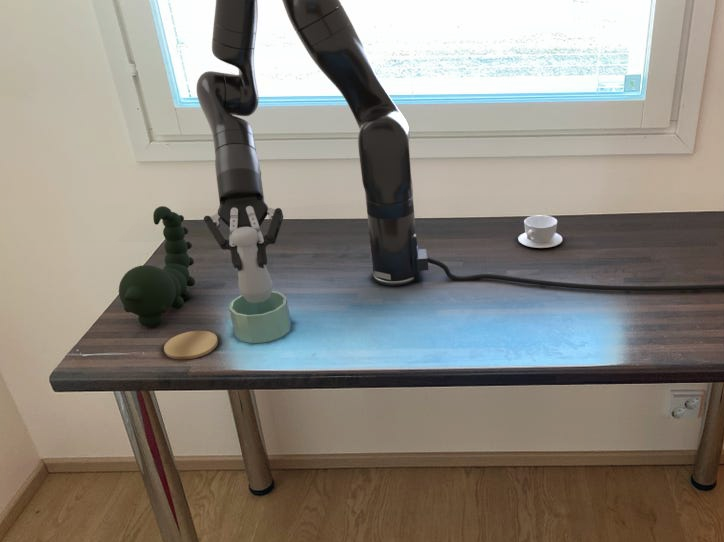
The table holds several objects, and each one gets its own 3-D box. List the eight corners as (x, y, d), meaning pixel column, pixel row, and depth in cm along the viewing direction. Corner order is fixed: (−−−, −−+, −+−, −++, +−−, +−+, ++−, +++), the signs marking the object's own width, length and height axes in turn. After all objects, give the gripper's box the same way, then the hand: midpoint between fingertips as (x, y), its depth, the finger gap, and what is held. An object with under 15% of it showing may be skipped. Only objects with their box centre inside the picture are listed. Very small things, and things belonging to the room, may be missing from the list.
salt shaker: (281, 293, 133) (268, 225, 126) (260, 307, 129) (246, 238, 122) (255, 288, 135) (241, 221, 128) (234, 301, 131) (218, 233, 124)
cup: (292, 314, 140) (288, 288, 137) (288, 340, 132) (283, 313, 129) (239, 318, 139) (233, 292, 136) (232, 345, 131) (225, 318, 128)
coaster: (221, 331, 135) (221, 328, 135) (213, 357, 127) (212, 354, 127) (170, 335, 134) (169, 332, 134) (159, 361, 126) (158, 358, 126)
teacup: (533, 229, 173) (533, 210, 171) (570, 238, 168) (571, 218, 166) (509, 243, 167) (509, 223, 164) (547, 253, 162) (548, 233, 159)
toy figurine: (168, 289, 154) (110, 341, 131) (148, 199, 145) (82, 238, 123) (213, 289, 153) (162, 341, 131) (195, 199, 145) (138, 238, 122)
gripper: (192, 170, 126) (203, 265, 122) (276, 162, 128) (290, 255, 125) (202, 190, 133) (212, 280, 130) (281, 182, 136) (294, 270, 132)
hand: (250, 267), depth 127 cm, fingers closed on salt shaker, 3 cm apart
